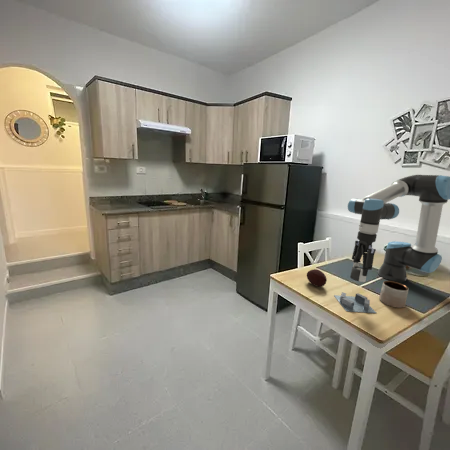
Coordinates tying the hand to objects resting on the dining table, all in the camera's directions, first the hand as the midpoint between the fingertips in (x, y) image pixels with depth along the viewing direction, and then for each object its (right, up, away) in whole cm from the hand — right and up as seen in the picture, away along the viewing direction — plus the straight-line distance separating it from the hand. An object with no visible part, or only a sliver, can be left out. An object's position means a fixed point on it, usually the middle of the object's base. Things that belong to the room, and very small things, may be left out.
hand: (358, 278), depth 115 cm
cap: (0, 0, 0) cm, 0 cm away
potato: (-13, -9, +20) cm, 26 cm away
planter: (+20, -14, +6) cm, 25 cm away
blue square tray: (-1, -13, +2) cm, 14 cm away
